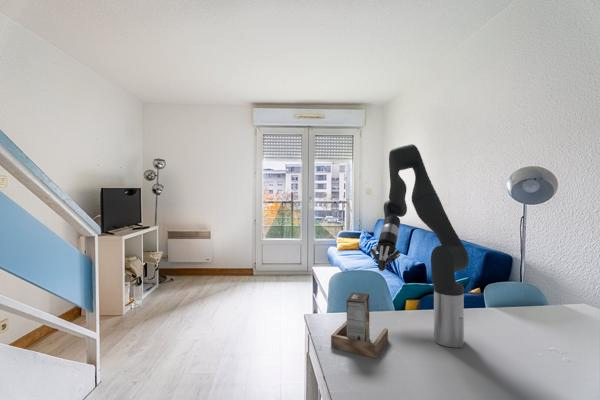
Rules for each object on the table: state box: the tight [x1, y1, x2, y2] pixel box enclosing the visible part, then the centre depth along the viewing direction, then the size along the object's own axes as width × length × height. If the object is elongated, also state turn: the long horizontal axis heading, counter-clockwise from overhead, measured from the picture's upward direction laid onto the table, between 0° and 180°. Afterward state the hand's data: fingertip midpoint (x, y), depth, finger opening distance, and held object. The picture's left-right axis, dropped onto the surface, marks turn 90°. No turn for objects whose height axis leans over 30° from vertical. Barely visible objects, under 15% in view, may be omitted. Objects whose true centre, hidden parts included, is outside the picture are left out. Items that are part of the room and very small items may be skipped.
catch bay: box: [330, 320, 389, 359], centre depth 111 cm, size 15×14×4 cm
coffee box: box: [346, 292, 370, 342], centre depth 111 cm, size 9×6×16 cm
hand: (381, 269), depth 133 cm, fingers closed
